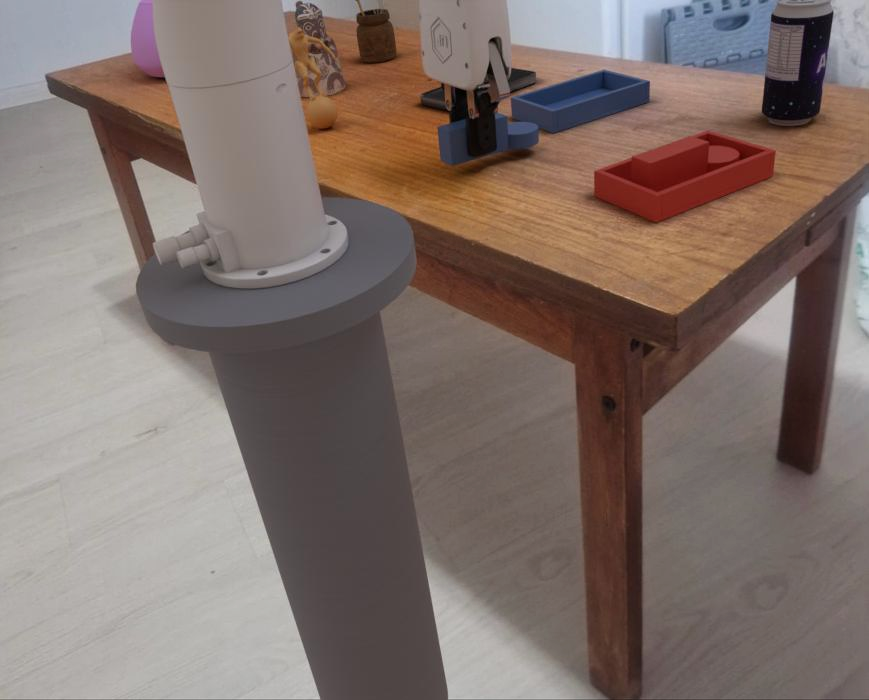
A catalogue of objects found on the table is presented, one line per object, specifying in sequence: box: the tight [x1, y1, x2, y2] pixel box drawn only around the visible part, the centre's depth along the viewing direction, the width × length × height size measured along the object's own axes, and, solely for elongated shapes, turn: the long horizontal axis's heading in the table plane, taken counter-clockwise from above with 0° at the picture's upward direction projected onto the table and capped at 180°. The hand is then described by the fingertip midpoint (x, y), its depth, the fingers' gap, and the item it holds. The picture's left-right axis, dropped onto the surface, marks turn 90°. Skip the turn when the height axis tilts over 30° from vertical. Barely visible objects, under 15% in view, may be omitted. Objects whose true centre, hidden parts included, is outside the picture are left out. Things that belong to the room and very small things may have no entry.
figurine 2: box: [288, 27, 339, 130], centre depth 101 cm, size 8×6×12 cm
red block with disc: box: [631, 135, 740, 192], centre depth 75 cm, size 11×4×4 cm, turn 120°
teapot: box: [130, 0, 165, 78], centre depth 138 cm, size 22×22×14 cm
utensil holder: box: [355, 0, 397, 64], centre depth 128 cm, size 6×6×12 cm
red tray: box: [593, 130, 777, 223], centre depth 75 cm, size 14×8×2 cm, turn 120°
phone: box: [419, 67, 537, 112], centre depth 108 cm, size 8×1×15 cm
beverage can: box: [761, 0, 835, 127], centre depth 84 cm, size 6×6×12 cm
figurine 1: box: [291, 0, 346, 98], centre depth 116 cm, size 7×7×12 cm
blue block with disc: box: [436, 112, 540, 167], centre depth 85 cm, size 11×4×4 cm, turn 120°
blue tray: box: [510, 69, 651, 134], centre depth 97 cm, size 14×8×2 cm, turn 120°
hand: (474, 148), depth 85 cm, fingers closed on blue block with disc, 2 cm apart
